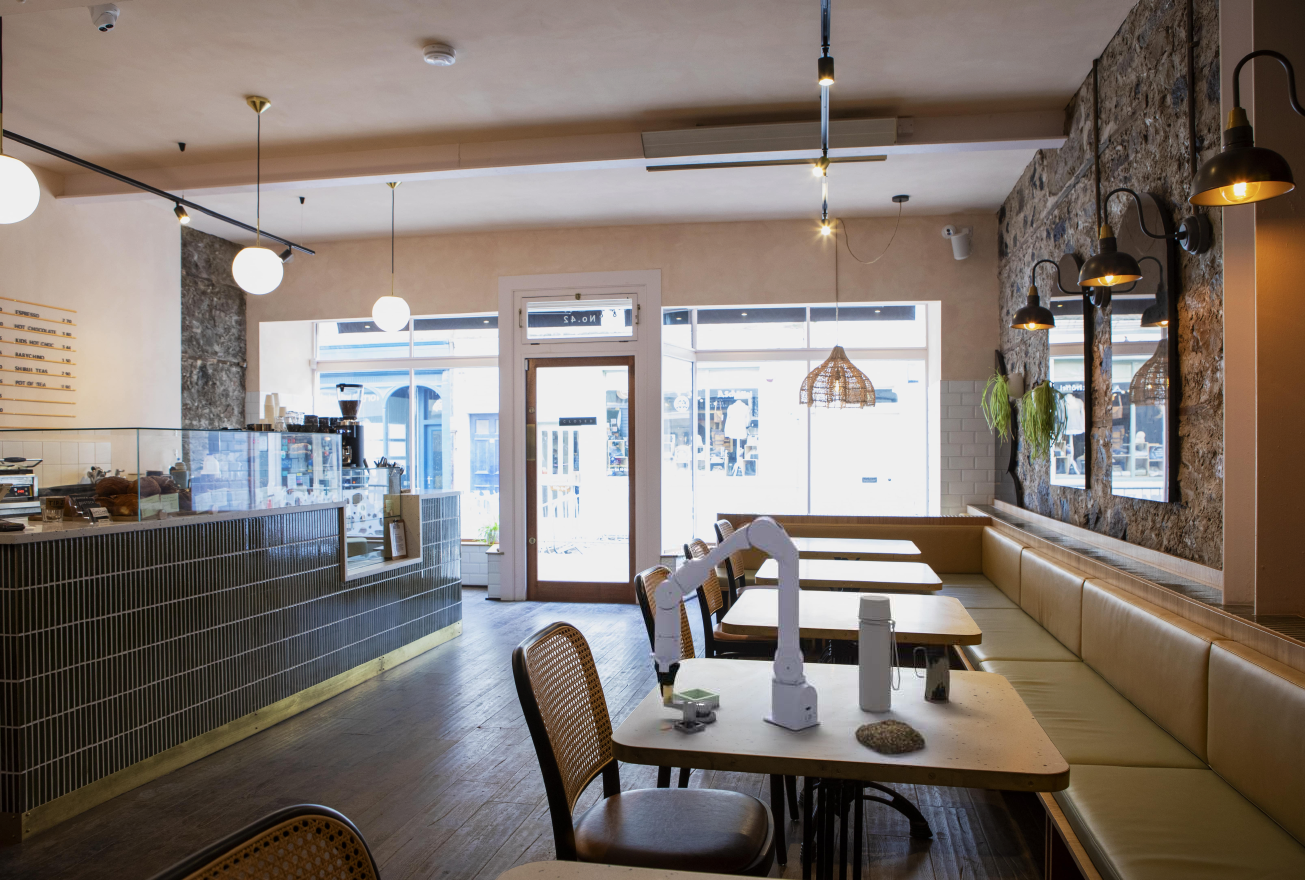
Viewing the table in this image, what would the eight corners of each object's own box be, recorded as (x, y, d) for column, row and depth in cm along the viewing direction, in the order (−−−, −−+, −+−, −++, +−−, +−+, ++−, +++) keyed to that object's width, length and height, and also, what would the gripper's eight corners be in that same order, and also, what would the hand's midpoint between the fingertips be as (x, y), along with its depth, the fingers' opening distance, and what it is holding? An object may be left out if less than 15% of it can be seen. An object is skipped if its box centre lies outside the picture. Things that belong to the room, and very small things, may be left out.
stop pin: (698, 728, 176) (698, 702, 176) (688, 731, 175) (688, 704, 175) (689, 725, 178) (689, 699, 178) (680, 728, 177) (680, 701, 177)
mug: (948, 697, 199) (948, 646, 199) (951, 704, 194) (951, 651, 194) (913, 695, 201) (913, 644, 201) (915, 701, 196) (914, 649, 196)
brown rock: (879, 758, 161) (879, 731, 161) (847, 736, 173) (847, 712, 173) (937, 751, 164) (937, 726, 164) (902, 731, 176) (902, 707, 176)
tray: (719, 705, 192) (719, 694, 193) (694, 711, 188) (694, 700, 188) (697, 698, 198) (697, 687, 198) (673, 703, 194) (673, 693, 194)
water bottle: (854, 711, 188) (853, 599, 189) (862, 701, 195) (862, 593, 196) (896, 717, 184) (895, 602, 184) (903, 707, 191) (903, 596, 191)
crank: (713, 709, 185) (713, 684, 185) (709, 717, 180) (709, 691, 180) (665, 706, 187) (665, 681, 187) (660, 713, 182) (660, 687, 183)
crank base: (730, 722, 181) (730, 717, 181) (678, 736, 172) (678, 731, 172) (701, 711, 188) (701, 707, 188) (650, 724, 179) (650, 720, 179)
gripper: (653, 627, 194) (652, 686, 194) (645, 641, 180) (644, 705, 180) (684, 628, 193) (683, 687, 193) (678, 642, 179) (677, 707, 179)
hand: (666, 696), depth 186 cm, fingers closed, pressing on crank
